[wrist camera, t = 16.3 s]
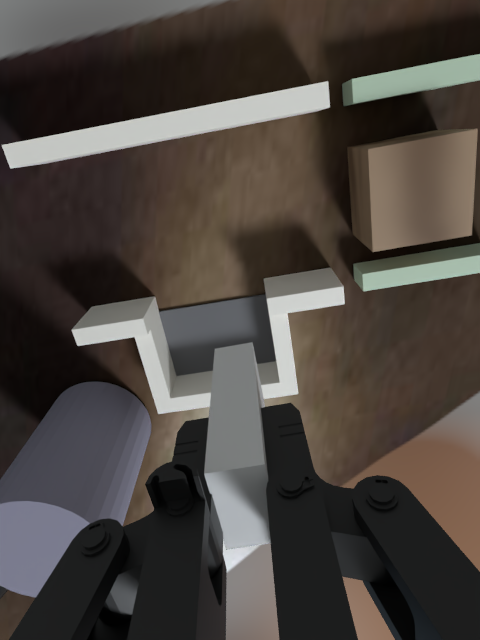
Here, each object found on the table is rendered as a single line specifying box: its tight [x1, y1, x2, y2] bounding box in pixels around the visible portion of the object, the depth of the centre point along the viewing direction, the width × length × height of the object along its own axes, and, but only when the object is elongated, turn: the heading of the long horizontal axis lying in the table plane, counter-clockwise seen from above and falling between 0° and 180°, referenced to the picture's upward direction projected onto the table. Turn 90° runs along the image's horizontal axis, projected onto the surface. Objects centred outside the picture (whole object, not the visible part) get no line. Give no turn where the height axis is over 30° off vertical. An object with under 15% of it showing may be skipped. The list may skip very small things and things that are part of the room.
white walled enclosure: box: [2, 81, 345, 414], centre depth 34 cm, size 22×24×5 cm
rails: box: [342, 54, 480, 291], centre depth 32 cm, size 11×16×3 cm
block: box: [347, 129, 478, 252], centre depth 31 cm, size 7×7×6 cm
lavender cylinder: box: [0, 382, 151, 597], centre depth 36 cm, size 10×10×15 cm
